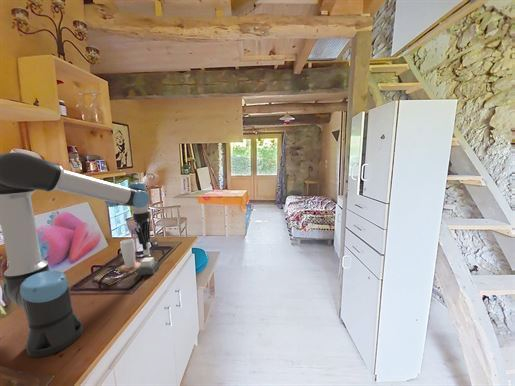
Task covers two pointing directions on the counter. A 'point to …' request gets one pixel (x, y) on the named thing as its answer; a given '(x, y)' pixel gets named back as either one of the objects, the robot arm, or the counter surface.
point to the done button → (147, 262)
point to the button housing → (148, 269)
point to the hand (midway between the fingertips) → (146, 254)
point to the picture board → (120, 269)
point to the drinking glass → (128, 252)
